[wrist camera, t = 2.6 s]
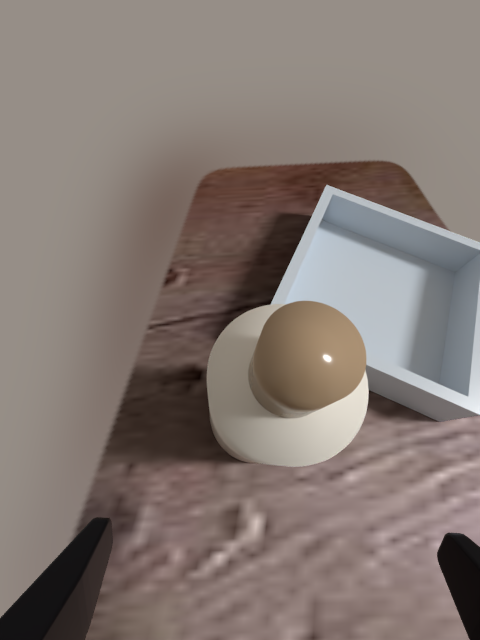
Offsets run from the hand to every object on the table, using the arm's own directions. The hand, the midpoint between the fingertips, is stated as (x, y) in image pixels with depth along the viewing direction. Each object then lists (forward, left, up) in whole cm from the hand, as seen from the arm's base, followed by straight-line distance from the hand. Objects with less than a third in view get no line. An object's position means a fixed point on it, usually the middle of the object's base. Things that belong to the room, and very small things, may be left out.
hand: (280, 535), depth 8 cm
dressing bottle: (+4, +1, -11) cm, 12 cm away
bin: (+16, -4, -11) cm, 20 cm away
